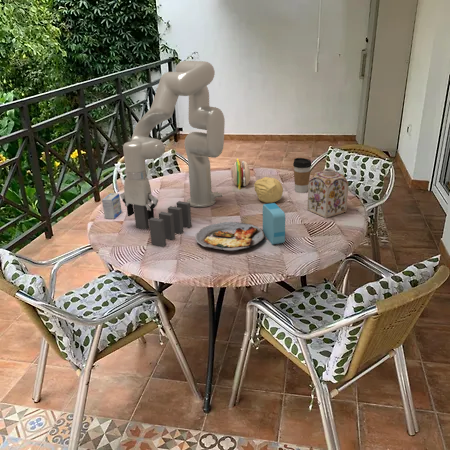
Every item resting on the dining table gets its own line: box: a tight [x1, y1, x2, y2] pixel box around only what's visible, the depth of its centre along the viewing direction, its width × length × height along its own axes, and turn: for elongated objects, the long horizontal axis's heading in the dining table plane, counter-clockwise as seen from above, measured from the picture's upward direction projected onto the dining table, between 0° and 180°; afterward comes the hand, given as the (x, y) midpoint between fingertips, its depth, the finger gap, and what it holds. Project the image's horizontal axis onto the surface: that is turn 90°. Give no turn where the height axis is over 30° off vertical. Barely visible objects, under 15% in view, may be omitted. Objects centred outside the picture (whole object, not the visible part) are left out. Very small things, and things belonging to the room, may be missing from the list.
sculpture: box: [253, 176, 284, 204], centre depth 200 cm, size 12×12×11 cm
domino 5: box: [175, 200, 192, 229], centre depth 176 cm, size 2×5×10 cm, turn 63°
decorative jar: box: [307, 168, 349, 219], centre depth 185 cm, size 12×12×18 cm
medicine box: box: [101, 192, 123, 220], centre depth 190 cm, size 8×4×9 cm, turn 168°
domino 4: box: [167, 206, 184, 235], centre depth 172 cm, size 2×5×10 cm, turn 63°
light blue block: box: [262, 202, 286, 245], centre depth 163 cm, size 12×4×12 cm, turn 14°
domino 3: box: [158, 211, 176, 241], centre depth 167 cm, size 2×5×10 cm, turn 63°
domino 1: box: [133, 204, 150, 230], centre depth 176 cm, size 2×5×10 cm, turn 63°
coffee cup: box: [292, 157, 312, 194], centre depth 209 cm, size 8×8×15 cm
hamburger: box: [232, 158, 251, 190], centre depth 220 cm, size 12×8×12 cm
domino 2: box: [149, 217, 167, 248], centre depth 162 cm, size 2×5×10 cm, turn 63°
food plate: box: [195, 221, 266, 252], centre depth 166 cm, size 25×23×4 cm
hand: (140, 216), depth 176 cm, fingers open, 9 cm apart
